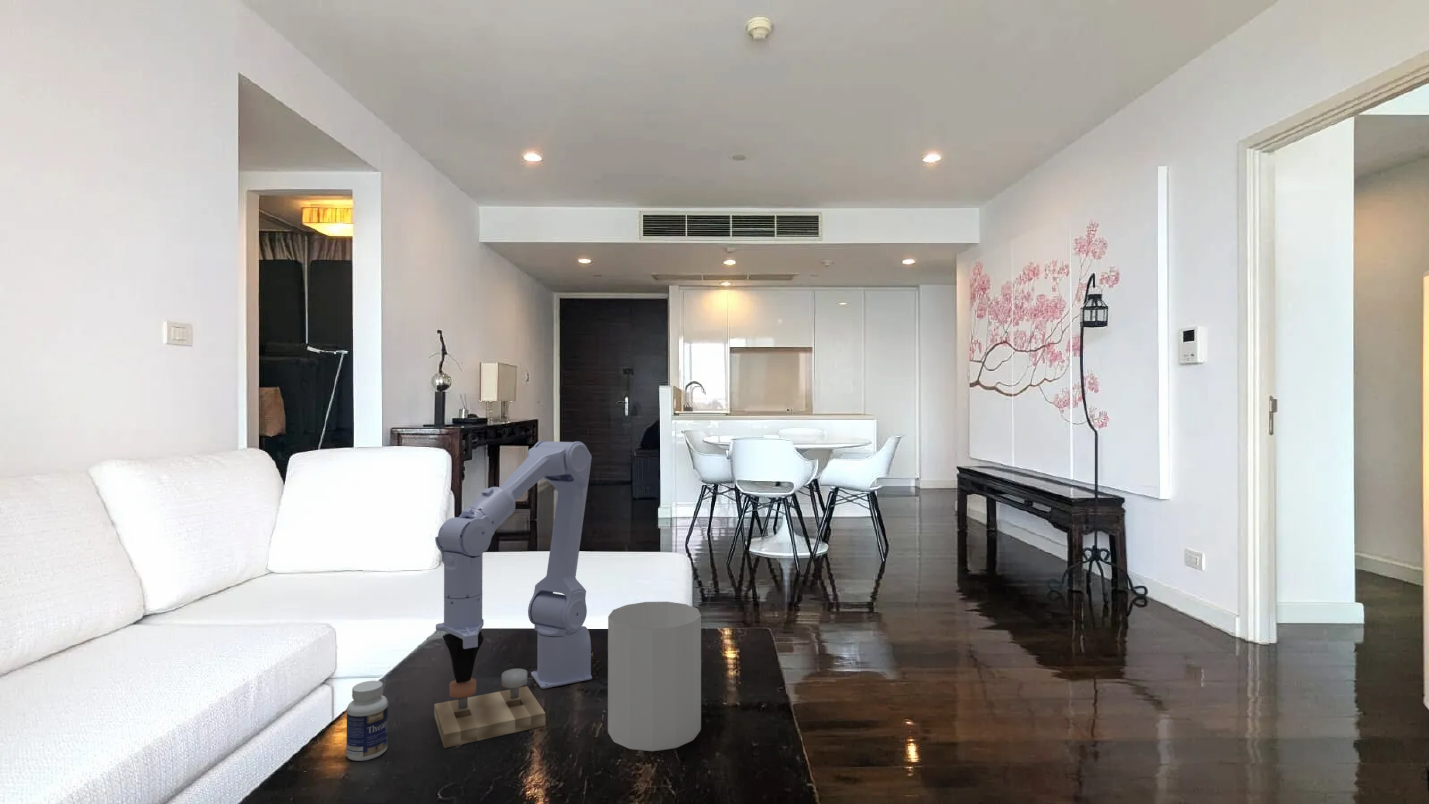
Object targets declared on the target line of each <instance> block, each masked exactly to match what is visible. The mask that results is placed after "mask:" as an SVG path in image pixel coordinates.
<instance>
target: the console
mask: <svg viewBox="0 0 1429 804" xmlns="http://www.w3.org/2000/svg"><path fill="white" fill-rule="evenodd" d="M433 707H434V714H433V715H434V720H435V723H436V725H437V729H438V732H439V736H440V739H441V742H442V745H443V748H444V749H446V748H451V747H456V746H460V745H465V744H468V743H469V744H470V743H474V742H478V741H483V740H487V739H492V738H495V737H501V736H505V735H509V734H510V735H511V734H514V733H519V732H524V731H527V730H533V729H537V728H542V727H545V726H546V712H545V711H544V709H543V707H542V706H541V704H540V703H539V702H538V700H537V698H536V696H534V694H533V693H532V691H531V690H530V688H529V687H528V686H527V685H526V686H521V687H519V697H518V698H516V699H511V698H510V689H505V690H500V691H495V692H491V693H490V692H489V693H485V694H480V695H473V696H469V697H468V707H467V708H466V709H458V699H454V700H448V701H443V702H438V703H437V702H436V703H434V706H433Z"/></svg>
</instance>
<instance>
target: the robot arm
mask: <svg viewBox="0 0 1429 804" xmlns="http://www.w3.org/2000/svg"><path fill="white" fill-rule="evenodd" d="M592 457H593V456H592V454H591V453H590V451H589V448H588V447H587V445H586V444H585V443H584V442H582V441H548V440H539V441H537V442H536V443H535V444H534V446H532V447H531V448H529V449H528V451H527V457H526V459H525V460H523V462H522V463H521V464H520V465H519V466H518V467H517V469H516V470H515V471H513V473H511V475H509V477H508V478H507V479H506V480H505V481H504V482H503V484H502V485H500V487H499V486H491V487H489V488H488V487H486V488H484V489H483V490H482V491H481V492H480V493H481V495H480V496H479V497H478V498H477V499H476V500H475V501H473V503H471V505H469V506H468V507H465V508H464V509H463V510H462V512H461V514H460V515H459V516H458V517H456V516H455V517H451V518H448V519H446V520H445V522H444V523H443V524H441V525H440V528H439V530H438V534H437V536H435V537H434V538H435V545H436V547H437V549H438V551H440V553H441V562H442V563H443V622H441V623H436V624H435V631H436V632H446V633H447V634H444V635H442V639H443V641H444V644H445V645H446V647H447V648H448V652H449V655H450V661H451V666H452V671H453V677H454V680H456V682H457V683H460V682H466V681H470V680H471V678H472V676H473V672H474V666H475V663H476V659H477V655H478V652H479V650H480V648H481V646H482V644H483V642H484V639H485V637H484V636H483V635H482V631H481V630H482V628H483V627H484V624H485V623H484V622H485V621H484V619H483V555H484V554H483V553H485V552H487V551H488V549H489V547H490V545H491V543H492V538H493V536H494V535H495V532H496V530H497V529H498V528H499V527H500V526H501V525H502V524H503V523H504V522H505V521H506V520H507V519H508V518H509V517H510V516H512V515H513V513H514V512H515V511H516V501H517V500H518V499H519V498H521V497H522V496H524V494H525V493H526V492H528V491H529V490H530V489H531V488H533V487H534V486H535V484H537V483H538V482H539V481H541V480H542V479H544V480H546V481H547V482H548V483H549V484H551V485H552V486H553V488H554V489H555V490H556V491H557V498H556V499H557V500H556V506H555V513H554V521H553V525H552V526H553V528H552V533H551V541H550V548H549V556H548V563H547V570H546V575H545V577H543V578H542V579H540V581H538V582H537V583H536V584H535V585H534V590H533V595H532V597H531V599H530V601H529V604H528V607H527V612H528V613H527V615H528V617H527V618H528V619H529V621H530V623H531V624H533V625H534V631H536V632H537V651H536V652H537V655H536V656H537V658H536V659H537V666H536V667H537V670H534V671H531V673H530V675H531V677H532V678H533V679H534V681H535V682H536V683H537V685H538V686H539V688H540V689H548V688H553V687H554V688H555V687H558V686H559V687H560V686H564V685H568V684H569V685H570V684H574V683H579V682H585V681H589V680H592V679H593V676H592V674H591V673H592V663H591V662H592V661H591V659H592V655H591V653H592V651H591V650H592V644H591V643H592V641H591V635H590V631H589V629H588V628H587V626H583V625H584V623H585V621H586V618H587V614H588V609H587V603H586V598H587V597H586V595H587V590H586V588H585V587H584V586H583V584H581V583H580V581H579V580H578V579H577V577H576V576H577V569H578V562H579V555H580V546H581V540H582V534H583V523H584V517H585V509H586V503H587V502H586V501H587V496H588V488H589V481H590V480H589V479H590V472H591V465H592V464H591V463H592Z"/></svg>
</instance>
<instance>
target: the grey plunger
mask: <svg viewBox="0 0 1429 804" xmlns="http://www.w3.org/2000/svg"><path fill="white" fill-rule="evenodd" d="M527 684H528V670H526V669H525V668H524V669H523V668H511V669H510V668H509V669H508V670H504V671H503V672H502V673H501V687H504V688H506V689H509V690H510V698H511V699H516V698H518V697H519V688H520V687H524V686H525V685H527Z"/></svg>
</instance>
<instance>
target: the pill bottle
mask: <svg viewBox="0 0 1429 804" xmlns="http://www.w3.org/2000/svg"><path fill="white" fill-rule="evenodd" d="M383 687H384V684H383V682H382V681H380V680H368V681H367V680H366V681H362V682H360V683H357V684H355V685H354V686H353V687H352V690H351V693H352V694H351V697H352V700H351V701H350V702H349V703H348V705H347V707H346V746H345V747H346V749H345V750H346V757H347V758H348V759H349V760H352V761H357V762H359V761H360V762H362V761H369V760H372V759H375V758H377V757H380V756H381V755H383V754H384V753H385V752H386V751H387V750H388V740H389V738H388V737H389V736H388V733H389V731H388V730H389V727H388V726H389V720H388V719H389V715H388V713H389V701H388V698H387V697H386V696H384V695H383V693H384V688H383Z"/></svg>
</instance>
